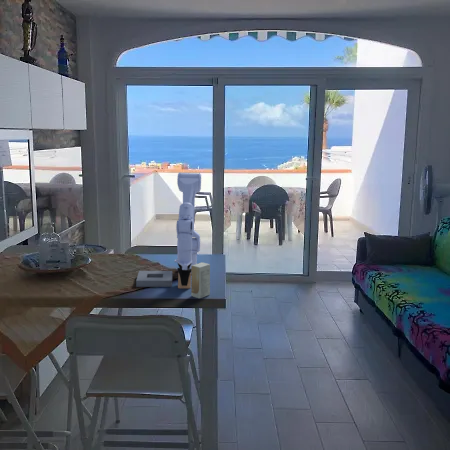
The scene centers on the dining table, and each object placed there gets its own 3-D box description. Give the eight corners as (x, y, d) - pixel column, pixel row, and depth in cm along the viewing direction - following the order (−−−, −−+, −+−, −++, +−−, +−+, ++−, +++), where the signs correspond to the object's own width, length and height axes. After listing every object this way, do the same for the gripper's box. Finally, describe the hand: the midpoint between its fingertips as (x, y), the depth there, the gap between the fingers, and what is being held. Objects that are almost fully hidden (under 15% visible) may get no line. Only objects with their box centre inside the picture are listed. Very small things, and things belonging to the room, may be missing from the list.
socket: (139, 276, 205) (139, 270, 204) (172, 276, 206) (172, 270, 206) (136, 286, 191) (136, 280, 191) (171, 286, 192) (171, 280, 192)
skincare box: (201, 292, 186) (202, 261, 184) (210, 294, 184) (211, 263, 182) (190, 296, 182) (190, 264, 179) (198, 299, 179) (199, 267, 177)
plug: (178, 285, 195) (178, 267, 193) (190, 285, 195) (190, 267, 194) (178, 288, 191) (178, 269, 189) (190, 288, 191) (190, 269, 190)
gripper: (174, 245, 197) (174, 277, 199) (174, 253, 183) (174, 288, 185) (192, 245, 197) (191, 277, 200) (193, 253, 183) (192, 288, 186)
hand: (184, 282), depth 193 cm, fingers open, 7 cm apart
